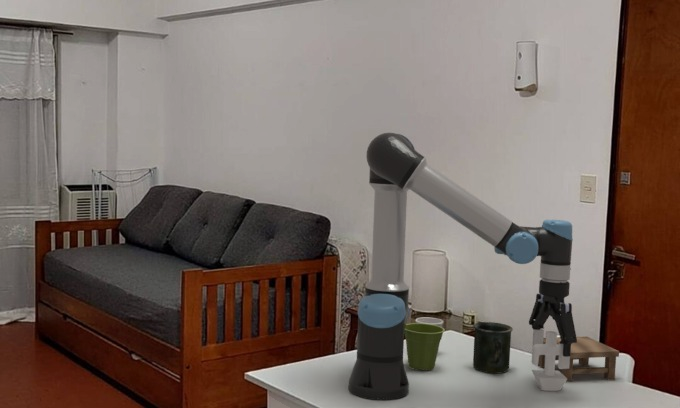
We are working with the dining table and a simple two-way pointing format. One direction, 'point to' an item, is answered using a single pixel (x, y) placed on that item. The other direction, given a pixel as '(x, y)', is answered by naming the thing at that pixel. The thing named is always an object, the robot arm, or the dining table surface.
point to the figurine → (548, 364)
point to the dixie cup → (430, 321)
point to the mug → (492, 347)
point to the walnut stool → (587, 358)
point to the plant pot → (422, 345)
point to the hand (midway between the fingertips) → (550, 360)
